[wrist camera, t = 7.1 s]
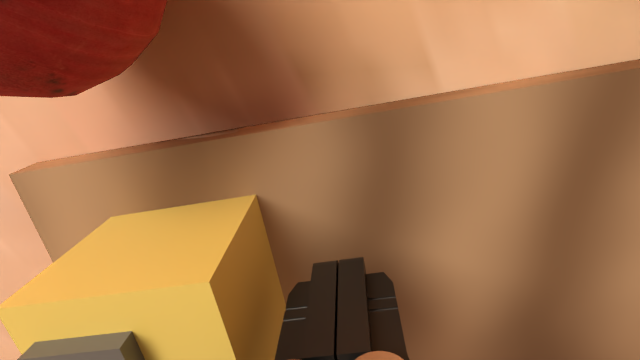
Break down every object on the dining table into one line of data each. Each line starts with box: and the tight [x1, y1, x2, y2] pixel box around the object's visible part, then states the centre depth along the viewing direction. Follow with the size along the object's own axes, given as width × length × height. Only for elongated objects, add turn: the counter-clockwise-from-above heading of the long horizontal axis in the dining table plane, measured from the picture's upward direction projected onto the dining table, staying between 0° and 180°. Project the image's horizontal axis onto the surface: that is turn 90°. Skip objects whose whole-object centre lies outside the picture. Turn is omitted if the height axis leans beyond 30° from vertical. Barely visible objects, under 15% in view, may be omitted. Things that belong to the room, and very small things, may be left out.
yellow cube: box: [0, 195, 286, 360], centre depth 11 cm, size 5×5×5 cm
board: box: [9, 59, 640, 360], centre depth 15 cm, size 22×18×1 cm
